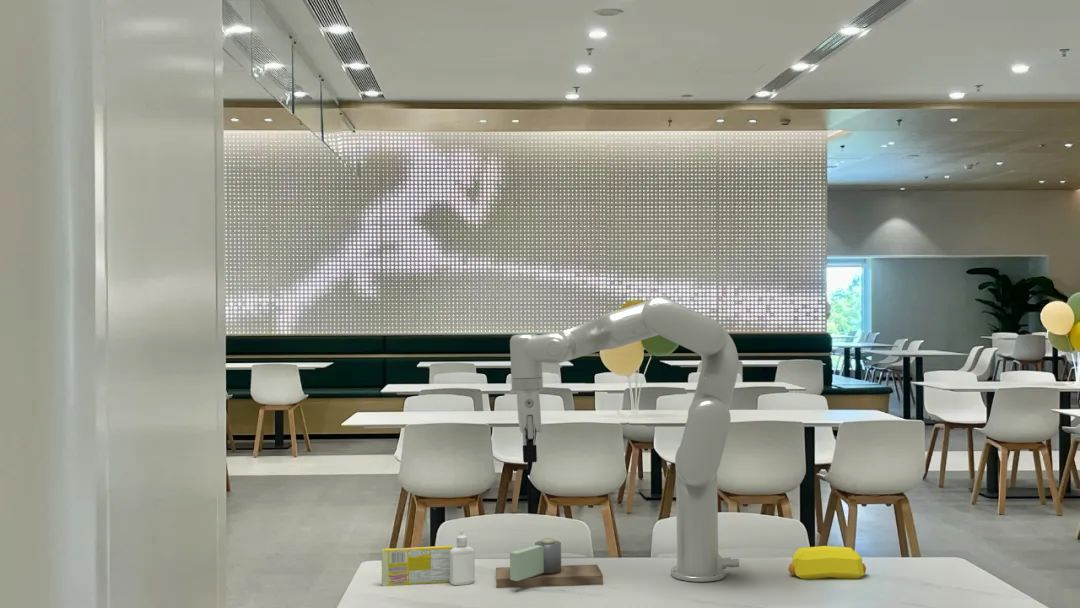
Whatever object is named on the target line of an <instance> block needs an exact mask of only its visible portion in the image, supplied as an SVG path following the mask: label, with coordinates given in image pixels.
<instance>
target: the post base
mask: <svg viewBox="0 0 1080 608" xmlns="http://www.w3.org/2000/svg"><path fill="white" fill-rule="evenodd" d="M495 579H496V580H495V583H496V588H499V589H500V588H502V589H504V588H529V587H530V588H532V587H533V588H534V587H561V586H563V587H565V586H566V587H567V586H568V587H569V586H592V585H591V584H601V585H604V577H603V573H602V571H601V569H600V567H599V566H598V564H573V565H569V564H568V565H561V571H560V572H557V573H550V574H545V573H541V574H538V575H535V576H531V577H528V578H525V579H522V580H519V581H514V580H510V566H507V567H506V566H505V567H495Z"/></svg>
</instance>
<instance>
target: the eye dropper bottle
mask: <svg viewBox="0 0 1080 608" xmlns="http://www.w3.org/2000/svg"><path fill="white" fill-rule="evenodd" d="M475 575H476V571H475V549H473V547H471V546H468V536H467V535H465V533H464V530H459V533H458V535H457V536H456V546H455V547H454V546H453V547H452V549H451V550H450V583H449V584H451V585H452V586H466V585H470V584H471V585H472V584H474V582H475V581H476V578H475V577H476V576H475Z"/></svg>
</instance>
